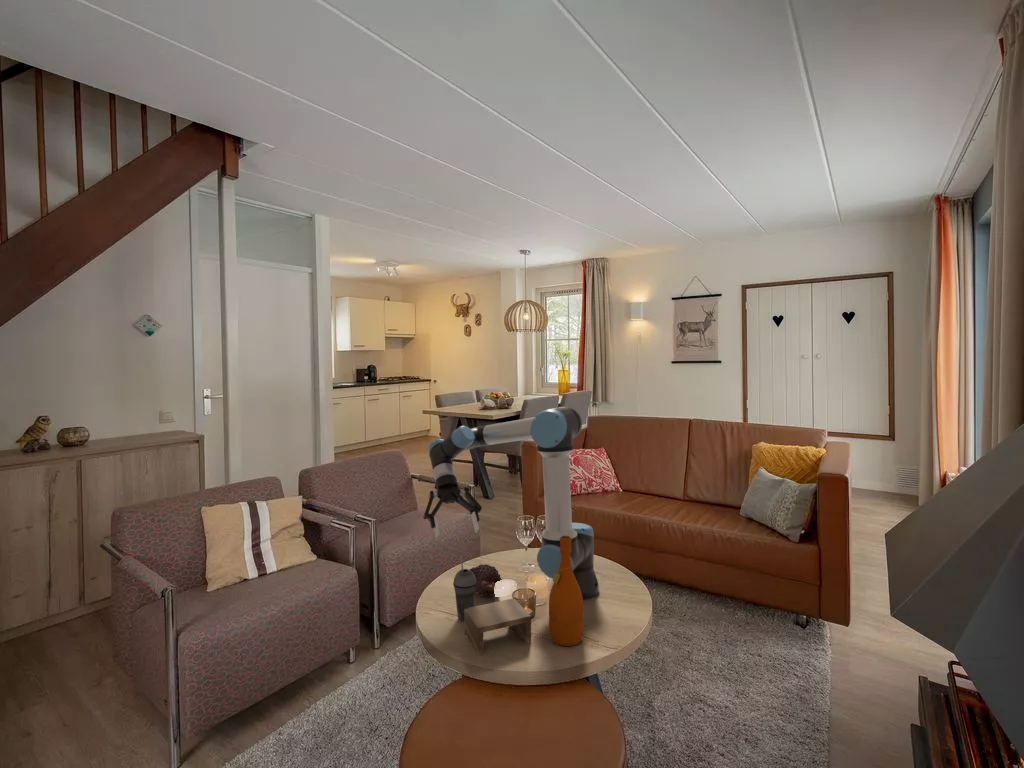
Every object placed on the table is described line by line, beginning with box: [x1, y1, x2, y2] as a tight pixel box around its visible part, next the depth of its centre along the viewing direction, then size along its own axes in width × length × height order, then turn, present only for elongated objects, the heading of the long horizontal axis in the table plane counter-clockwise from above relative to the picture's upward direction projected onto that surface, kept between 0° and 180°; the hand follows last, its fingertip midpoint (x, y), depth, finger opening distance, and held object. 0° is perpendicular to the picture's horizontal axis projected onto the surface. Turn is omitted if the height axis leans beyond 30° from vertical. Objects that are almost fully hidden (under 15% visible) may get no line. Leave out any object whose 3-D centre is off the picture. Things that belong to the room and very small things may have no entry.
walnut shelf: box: [463, 598, 532, 655], centre depth 148 cm, size 16×12×8 cm
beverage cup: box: [452, 555, 477, 624], centre depth 159 cm, size 7×7×20 cm
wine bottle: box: [548, 536, 584, 647], centre depth 147 cm, size 10×10×30 cm
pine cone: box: [469, 563, 503, 598], centre depth 176 cm, size 18×10×10 cm, turn 37°
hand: (458, 533), depth 170 cm, fingers open, 13 cm apart
